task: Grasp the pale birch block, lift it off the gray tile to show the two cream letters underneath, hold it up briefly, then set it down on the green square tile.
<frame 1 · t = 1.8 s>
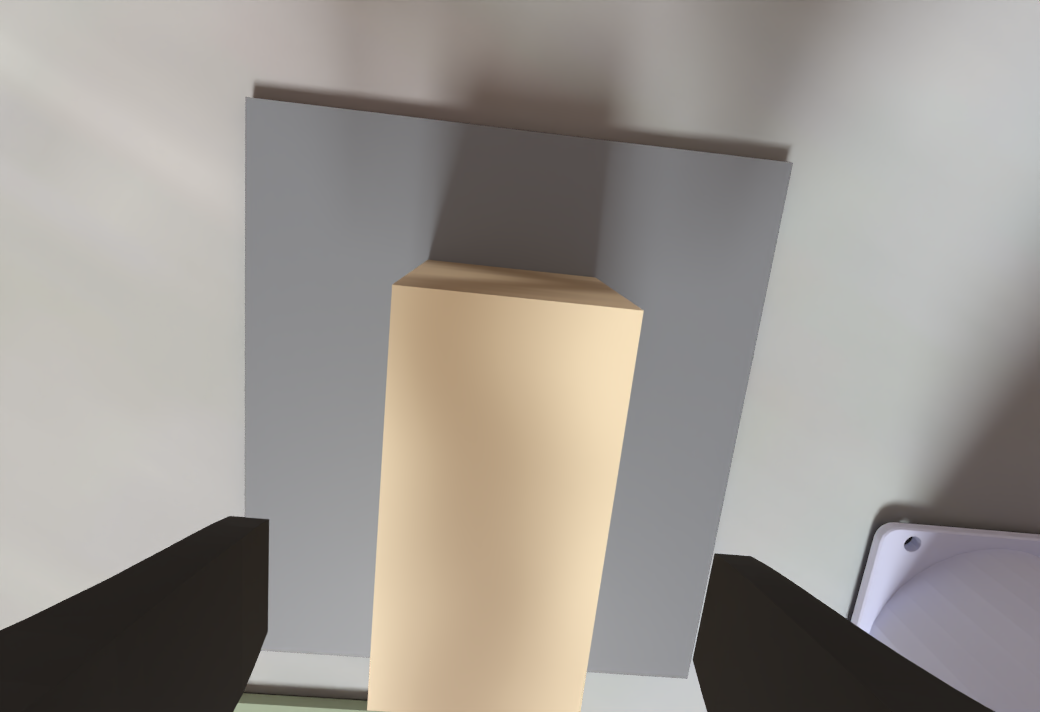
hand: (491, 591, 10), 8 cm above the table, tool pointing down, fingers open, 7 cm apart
birch block: (495, 426, 17), resting on gray tile
gray tile: (495, 421, 17), on the table
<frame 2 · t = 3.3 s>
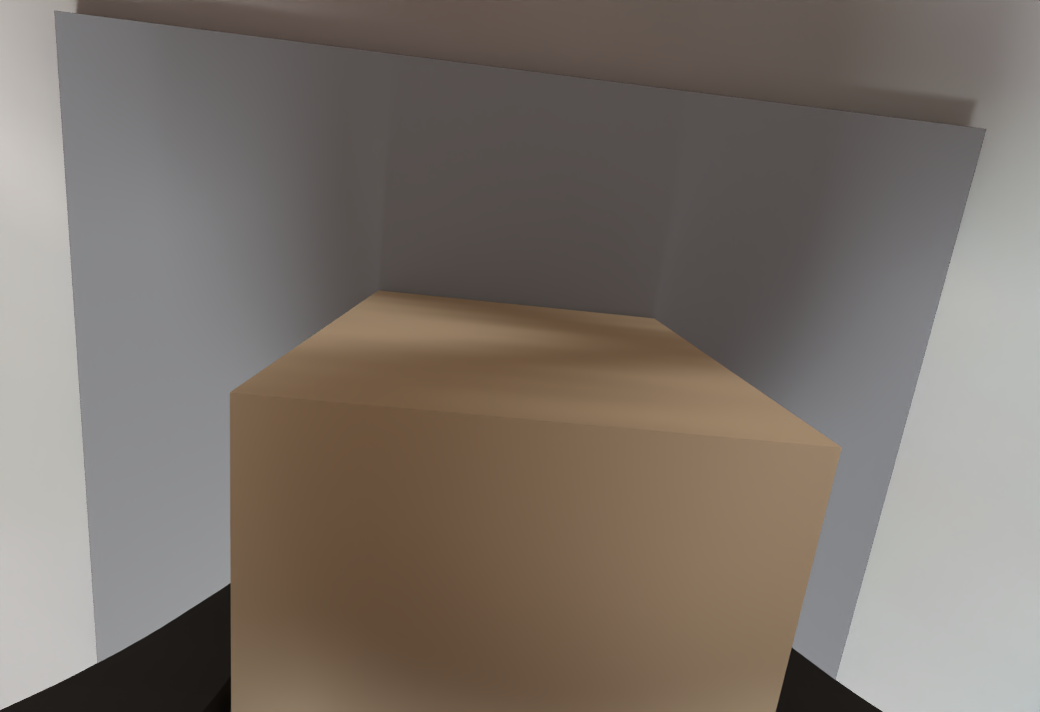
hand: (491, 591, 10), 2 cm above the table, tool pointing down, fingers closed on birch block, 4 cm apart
birch block: (491, 551, 11), resting on gray tile, touching gripper
gray tile: (491, 538, 11), on the table
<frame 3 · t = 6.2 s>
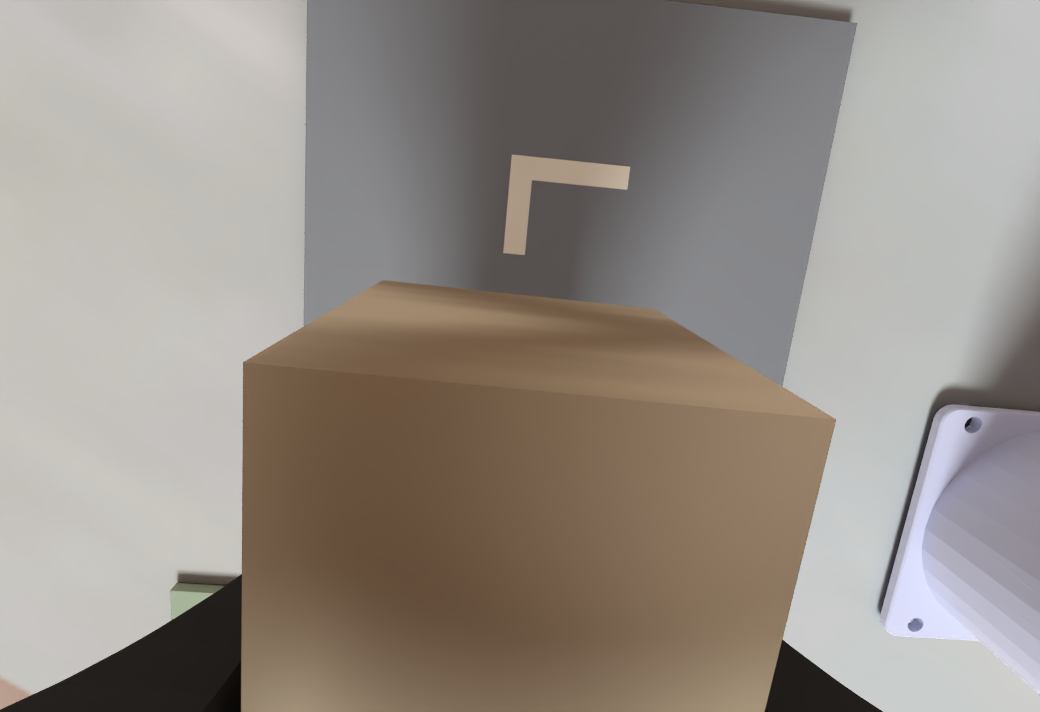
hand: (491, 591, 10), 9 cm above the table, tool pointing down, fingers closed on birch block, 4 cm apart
birch block: (492, 540, 11), point 7 cm above the table, touching gripper
gray tile: (554, 302, 17), on the table
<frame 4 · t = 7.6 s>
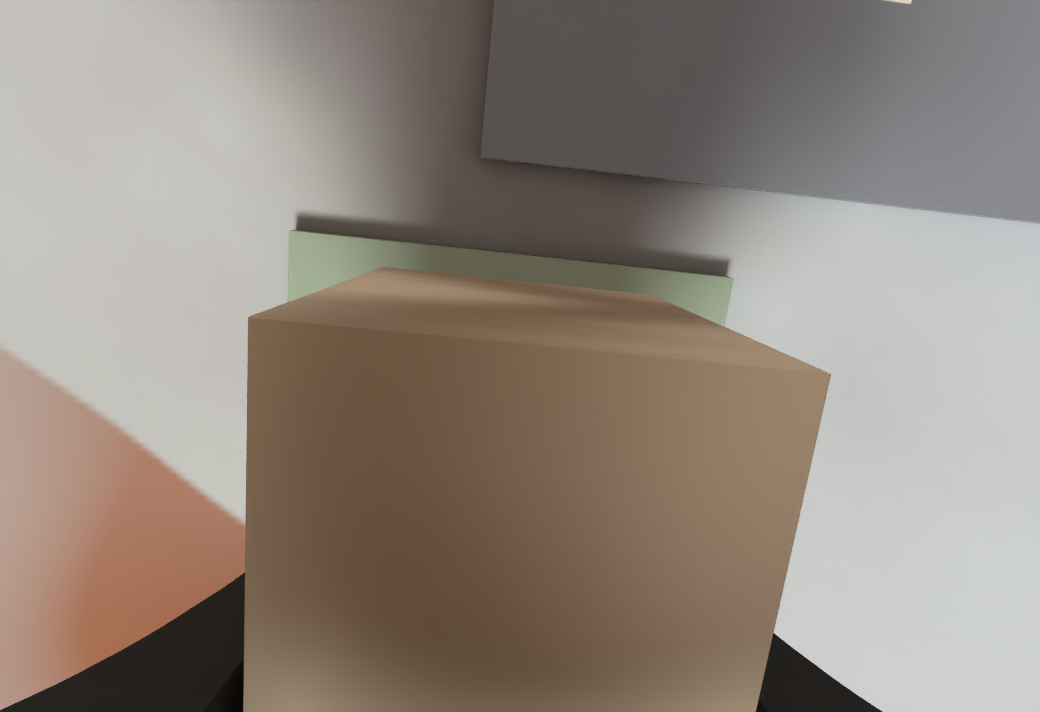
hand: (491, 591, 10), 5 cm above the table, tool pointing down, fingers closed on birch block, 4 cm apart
birch block: (492, 527, 11), point 4 cm above the table, touching gripper
green square tile: (494, 455, 15), on the table
when the fingers open (3 cm above the table, at t = 9.0 s): birch block stays where it is, resting on green square tile.
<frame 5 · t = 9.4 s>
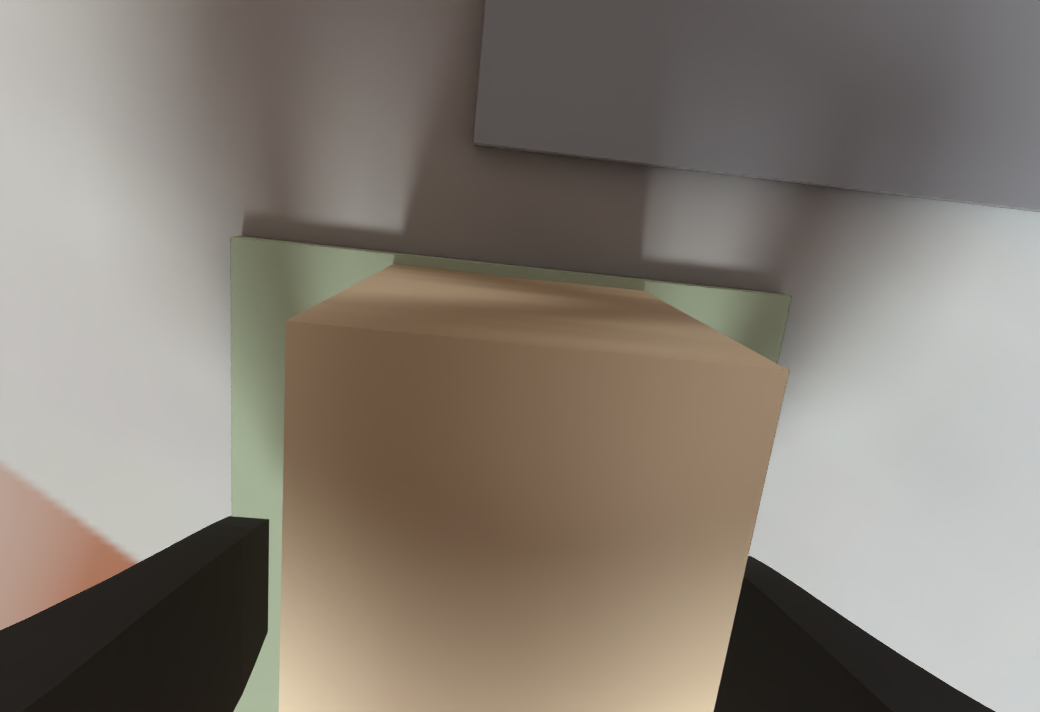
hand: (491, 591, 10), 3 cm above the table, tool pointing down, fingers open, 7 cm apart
birch block: (495, 507, 12), resting on green square tile
green square tile: (492, 512, 12), on the table
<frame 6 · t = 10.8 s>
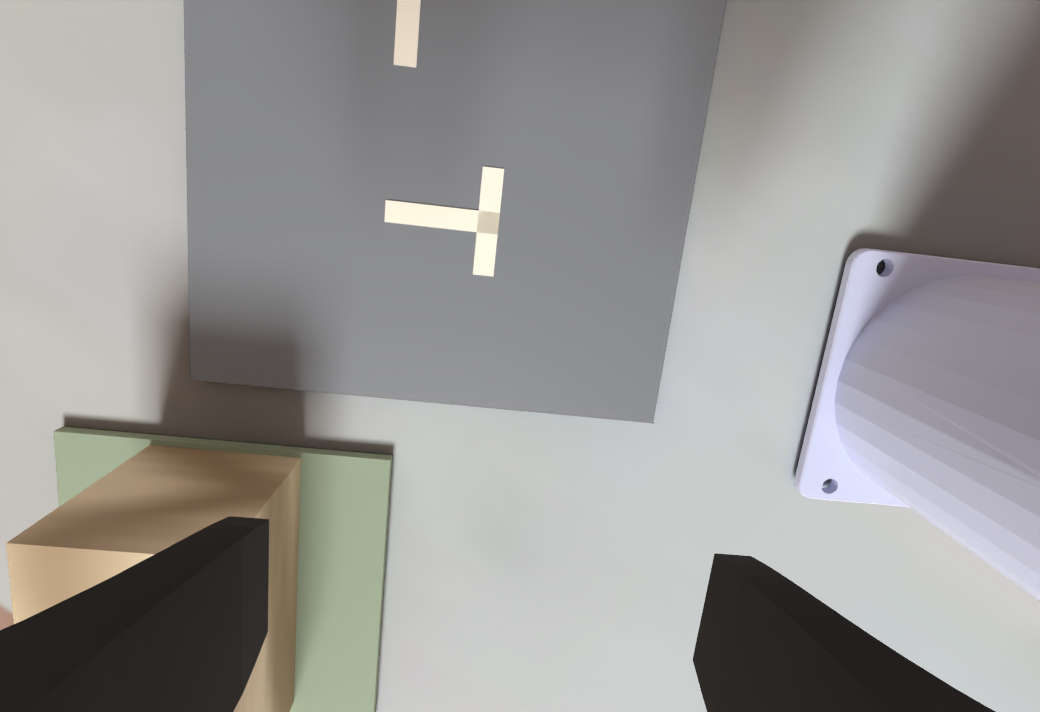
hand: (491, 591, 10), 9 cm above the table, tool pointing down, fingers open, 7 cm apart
birch block: (226, 581, 19), resting on green square tile
green square tile: (230, 582, 20), on the table
gray tile: (450, 125, 17), on the table
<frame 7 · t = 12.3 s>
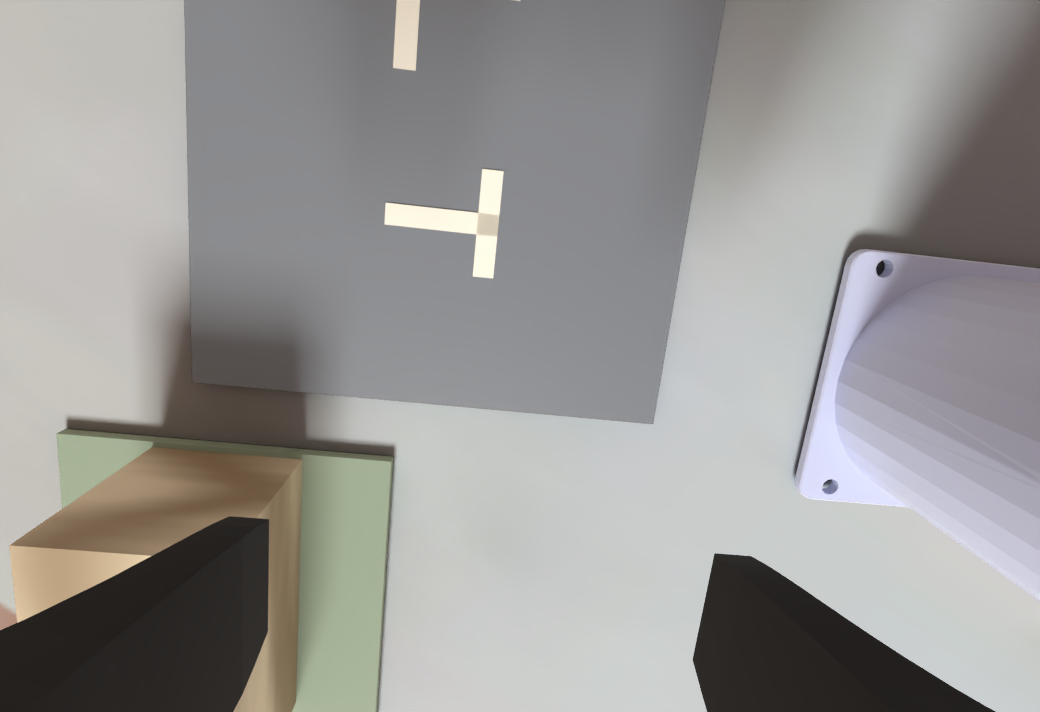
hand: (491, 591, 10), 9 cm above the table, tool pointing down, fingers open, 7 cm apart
birch block: (228, 582, 19), resting on green square tile
green square tile: (232, 583, 20), on the table
gray tile: (450, 128, 17), on the table
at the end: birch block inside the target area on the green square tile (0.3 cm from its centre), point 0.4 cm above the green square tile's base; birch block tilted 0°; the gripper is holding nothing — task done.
